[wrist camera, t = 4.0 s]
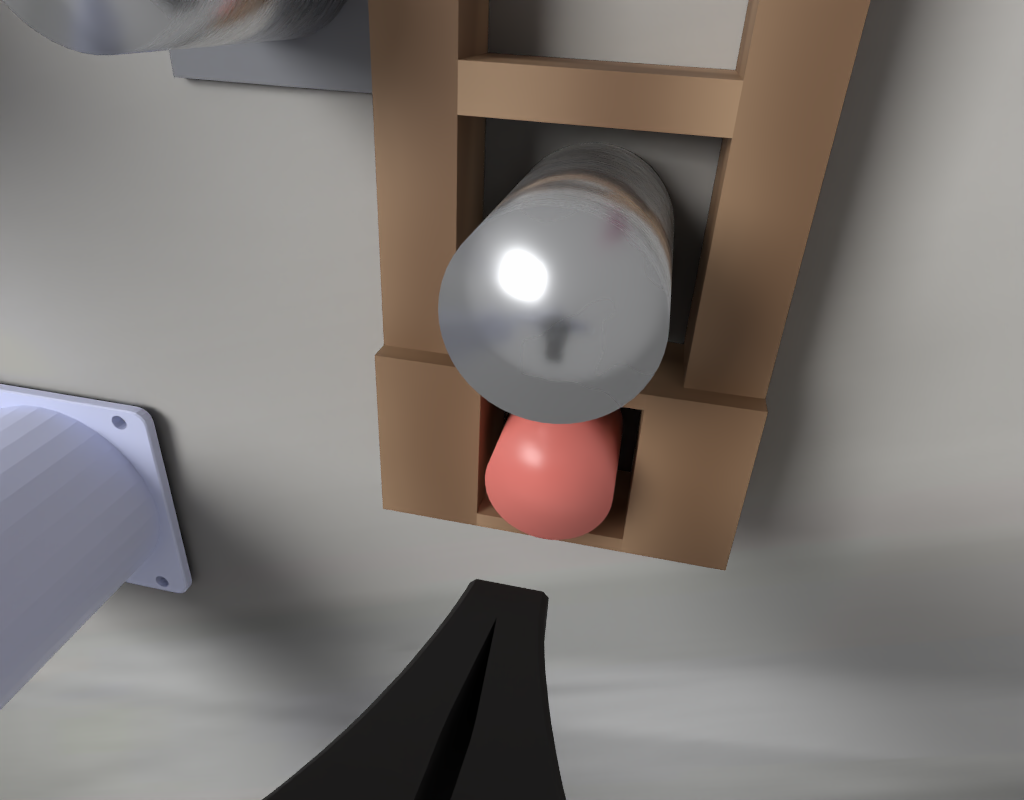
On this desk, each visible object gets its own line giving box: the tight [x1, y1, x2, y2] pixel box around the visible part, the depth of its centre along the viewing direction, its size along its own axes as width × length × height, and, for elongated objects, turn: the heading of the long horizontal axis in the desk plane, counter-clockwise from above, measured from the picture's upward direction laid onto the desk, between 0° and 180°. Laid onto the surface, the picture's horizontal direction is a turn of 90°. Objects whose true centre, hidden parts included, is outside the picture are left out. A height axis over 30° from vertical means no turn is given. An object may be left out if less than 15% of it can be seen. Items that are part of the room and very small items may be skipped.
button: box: [485, 408, 623, 540], centre depth 18 cm, size 3×3×3 cm
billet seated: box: [438, 143, 674, 424], centre depth 15 cm, size 4×4×6 cm
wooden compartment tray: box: [368, 0, 871, 570], centre depth 15 cm, size 9×17×3 cm, turn 177°
